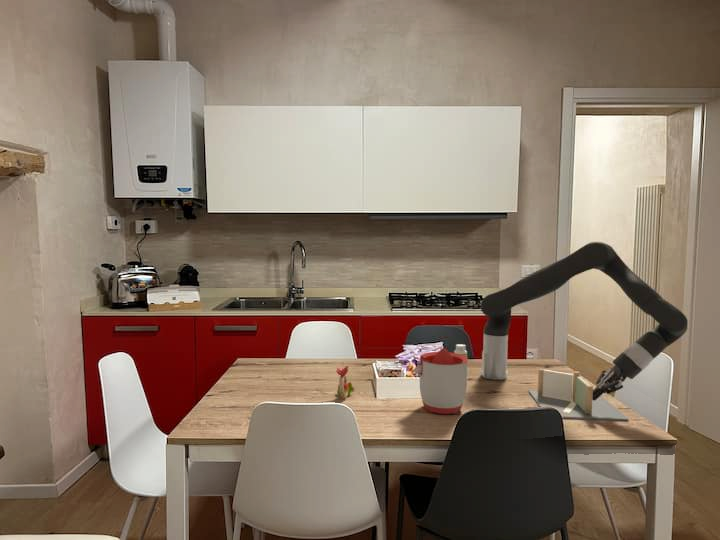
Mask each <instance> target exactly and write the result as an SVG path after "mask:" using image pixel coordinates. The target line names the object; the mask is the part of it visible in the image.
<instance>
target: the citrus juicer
mask: <svg viewBox="0 0 720 540" xmlns="http://www.w3.org/2000/svg"><path fill="white" fill-rule="evenodd" d="M419 356H420V357H419V365H416V366H415V367H414V370H413V374H414V375H416V374H419V390H420V391H419V392H420V397H421V400H422V401H421V402H422V404H423V407H424V409H425V410H427V411H428V412H430V413H432V412H434V413H433V414H440V415H450V414H451V413H452V414H456V413H455V412H457V413H458V412H460V411H461V409H462V407H463V405H464V402H465V399H466V398H465V397H466V393H467V386H468V382H467V381H468V362H469V358H468V356H467V357H466V356H464V355H461V354H456V353H454V352H449V351H448V350H447V349H446V348H444V347H443V348H441V349H440V350H439V351H431V352H430V351H429V352H424V353H422V354H421V355H419Z"/></svg>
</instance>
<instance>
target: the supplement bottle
mask: <svg viewBox="0 0 720 540" xmlns="http://www.w3.org/2000/svg"><path fill="white" fill-rule="evenodd" d="M453 353H456V354H461V355H464V356H466V357H467V358H468V351H467V350H466V344H462V343H461V344H460V343H459V344H458V343H457V344H455V349H454V350H453Z"/></svg>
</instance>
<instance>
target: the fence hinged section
mask: <svg viewBox="0 0 720 540" xmlns="http://www.w3.org/2000/svg"><path fill="white" fill-rule="evenodd" d="M593 390H594V386H593V385H591V384H589V383H588V382H587V381H586V380H585V379H583V378H582V377H581V375H580V376H576V390H575V402H576V403H577V404H578V405H579V406H580V407H581V408H582V409H583V410H584V411H585V414H592V398H593Z"/></svg>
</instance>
